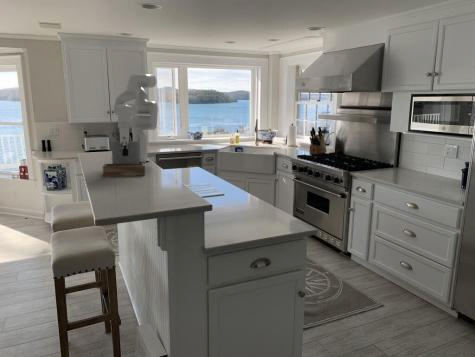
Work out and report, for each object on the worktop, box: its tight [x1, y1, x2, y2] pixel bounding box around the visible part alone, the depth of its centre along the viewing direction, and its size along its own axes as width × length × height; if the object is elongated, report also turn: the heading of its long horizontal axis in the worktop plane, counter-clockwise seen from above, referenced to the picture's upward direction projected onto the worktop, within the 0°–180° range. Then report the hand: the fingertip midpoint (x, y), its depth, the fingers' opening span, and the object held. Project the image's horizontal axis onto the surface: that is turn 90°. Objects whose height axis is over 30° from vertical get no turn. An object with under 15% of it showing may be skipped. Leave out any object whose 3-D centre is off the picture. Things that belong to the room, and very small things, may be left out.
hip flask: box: [111, 140, 139, 164], centre depth 230 cm, size 16×4×20 cm, turn 109°
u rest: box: [102, 162, 146, 178], centre depth 219 cm, size 12×23×6 cm, turn 103°
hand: (125, 154), depth 230 cm, fingers closed on hip flask, 4 cm apart
